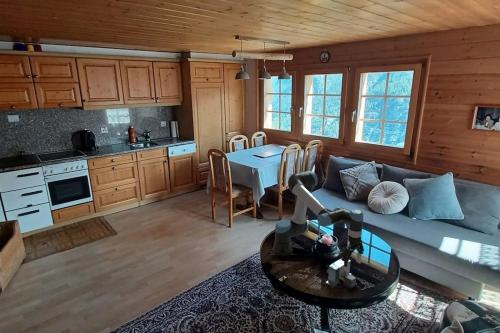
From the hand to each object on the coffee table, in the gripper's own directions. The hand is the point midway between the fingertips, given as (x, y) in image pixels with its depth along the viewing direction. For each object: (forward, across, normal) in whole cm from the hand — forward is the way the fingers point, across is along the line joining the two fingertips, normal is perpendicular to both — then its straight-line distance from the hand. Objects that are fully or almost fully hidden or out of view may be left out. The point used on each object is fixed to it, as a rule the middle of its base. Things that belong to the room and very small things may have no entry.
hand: (352, 266), depth 178 cm
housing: (+14, 0, +9) cm, 17 cm away
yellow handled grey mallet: (+14, 0, +8) cm, 16 cm away
